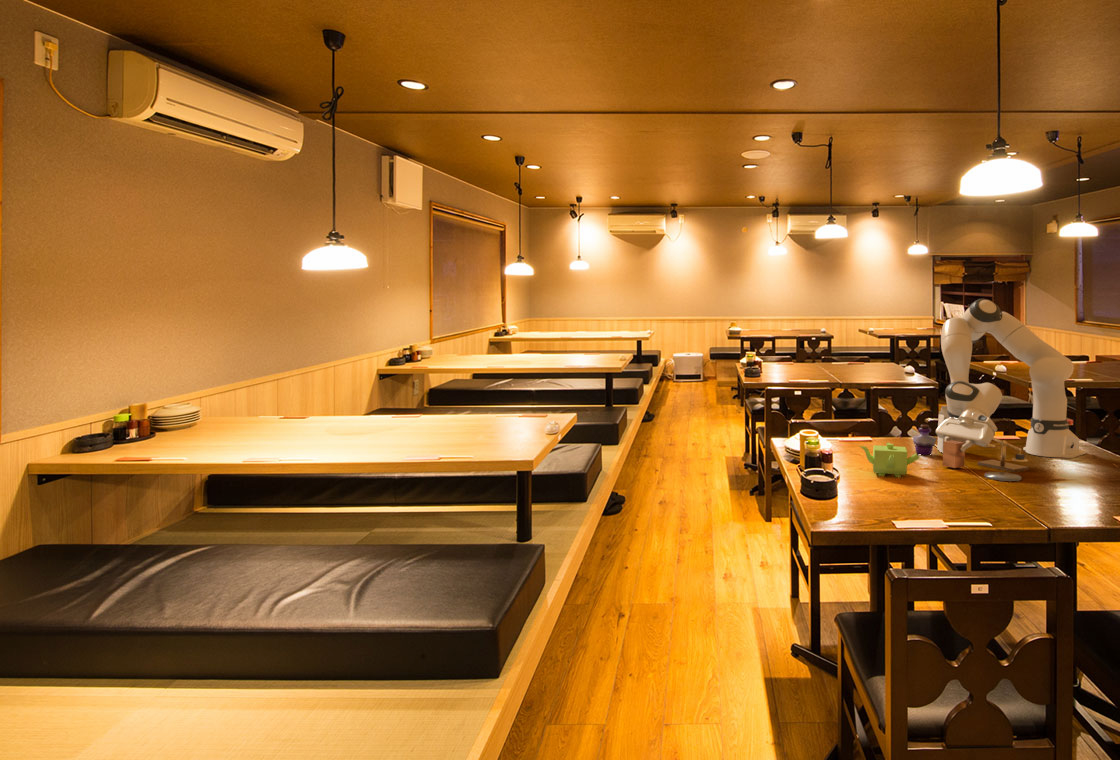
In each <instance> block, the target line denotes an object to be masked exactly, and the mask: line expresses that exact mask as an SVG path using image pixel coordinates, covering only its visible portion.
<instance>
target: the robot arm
mask: <svg viewBox="0 0 1120 760" xmlns="http://www.w3.org/2000/svg"><path fill="white" fill-rule="evenodd" d="M940 332H941V335H940V345H941V347H940V348H941V352H942V356H943V359H944V361H945V362H944V363H945V365H946V368H947V370H948V374H949V378H950V383H949V384H948V385H947V386H946V388H945V390H944V394H945V400H946V401H945V402H946V406H947V412H948V415H949V417H950V418H948V419H945V420H944V421H943V422H942V423H941V424H940V425H939V427H938V426H937V428H936V429H935V434H936V435H937V438H938V437H939V438H943V439H945V441H951V440H955V441H960V442H965V444H964V445H960V447H959V448H958V449H959V451H961V452H964V451H965V452H966V450H967V449H969V448H970V447H973V445H975V446H980V447H981V446H987V445H988V444H991V442H992V439H993V437H994V438H995V433H996V432H997V431H998V427H997V426H996V424H995V422H993V420H992V419H991V416H992V414H994V413H995V411H996V410H997V409H998V407H999V405H1000V403H1001V401H1002V399H1003V393H1002V390H1001V389H1000V388H999V387H998V386H996V385H995V384H993V383H990V382H983V383H970V382H969V374H970V366H971V362H972V361H971V360H972V353H973V344H975V343H977V342H979V340H980V339H981V338H982V337H983V336H984V335H985V334H986V333H988V334H990V335H992V336H993V338H994V339H996V341H997V342H998V343H999V344H1001V346H1002V347H1004V348H1005V349H1006V350H1007V351H1008V352H1009V353H1010V354H1012V356H1013V357H1014V358H1015V359H1017V360H1019V361H1021V362H1022V363H1024V364H1026V366H1029V367H1030V368H1029V369H1028V370H1029V371H1028V374H1029V377H1030V380H1031V381H1030V382H1031V389H1032V397H1033V400H1032V401H1033V402H1032V403H1033V404H1032V417H1031V418H1030V427H1031V428H1030V429H1028V432H1027V436H1026V444H1025V446H1024V447H1023V449H1022V450H1023V451H1025V453H1026V454H1030V455H1032V456H1033V455H1034V456H1039V457H1047V458H1066V459H1074V458H1076V457H1080V456H1083V455H1086V454H1087V450H1085V449H1082V448H1081V449H1080V439H1079V437H1078V436H1077V435H1076V434H1074V433H1073V432H1072V431H1071V430H1070V429H1069V428H1070V426H1072V425H1073V424H1074V420H1073V419H1067V409H1068V398H1067V395H1066V389H1065V381H1067V380H1068V379H1070V377H1071V376H1072V375H1073V373H1074V369H1075V366H1074V362H1072V359H1070V358H1068V357H1067V356H1065V355H1064V354H1063V353H1062V352H1060V351H1059V350H1058V349H1055V348H1054V347H1052V346H1051V345H1050V344H1048V343H1047V342H1045V341H1044V340H1042V339H1041V337H1039V336H1038V335H1036V334H1035V333H1034V331H1032V330H1031V329H1030V328H1028V327H1027V325H1025V324H1024V323H1023V322H1022V321H1020V320H1019V319H1018V318H1016V317H1015V316H1013V315H1011V314H1010V313H1008V312H1006V311H1002V310H1001V308H1000V307H999V306H998V305H997V304H996V303H995V302H994V301H992V300H990V299H988V298H978V299H977V300H975V301H974V302H972V303H971V304H970V305H969V307H968V308H967V309H966V310H965V311H964V312H963V314H962V315H961V317H957V316H955V317H954V316H953V317H950V318H948V319H947V320H945V321H944V322H943V325H942V327H941V331H940Z"/></svg>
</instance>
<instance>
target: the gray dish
mask: <svg viewBox="0 0 1120 760" xmlns="http://www.w3.org/2000/svg"><path fill="white" fill-rule="evenodd" d="M984 477H985V478H986V479H988V478H989V479H988V480H991V479H993V481H996V480H999V481H998V482H1004V481H1009V482H1008V483H1012V482H1011V481H1017V482H1021V481H1022V476H1021V475H1019V474H1015V473H1012V472H1006V471H987V472H985V473H984ZM1020 480H1021V481H1020Z"/></svg>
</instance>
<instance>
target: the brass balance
mask: <svg viewBox="0 0 1120 760" xmlns="http://www.w3.org/2000/svg"><path fill="white" fill-rule="evenodd" d="M992 440H993V441H995V442H996V443H999V444H1000V445H1001V451H1000V460H997V459H987V460H980V461H979V460H978V461H977V465H978V466H980V465H981V467H985V466H987V467H986V468H990V467H992V468H991V469H994V468H996V469H995V470H999V469H1001V470H1000V471H1003V470H1005V471H1004V472H1008V471H1010V472H1009V473H1012V472H1015V473H1021V472H1025V471H1024V470H1027V471H1029V466H1025V465H1020V464H1016V463H1017V462H1018V463H1028V462H1029V459H1028V458H1025V454H1023V453H1021V452H1022V448H1020V447H1018V446H1015V445H1013V444H1010V443H1009V442H1008V441H1007V440H1001V439H999V438H995V436H994V437H993V439H992ZM992 440H991V441H992ZM980 447H982V448H988V449H993V448H996V444H992V443H989V444H988V445H987V446H980ZM1007 447H1009V448H1011V449H1014V450H1016V451H1018V452H1019V453H1015V455H1014V456H1015V457H1012V458H1011V461H1012V462H1015V463H1011V462H1006V449H1007ZM1020 471H1021V472H1020Z"/></svg>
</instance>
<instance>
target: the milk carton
mask: <svg viewBox="0 0 1120 760" xmlns="http://www.w3.org/2000/svg"><path fill="white" fill-rule="evenodd" d="M948 418H950V417H949V415H948V412H947V405H941V408H940V410H939V413H938V420H937V421H938V423H937V428H938V427H939V425H940V424H941V423H942V422H943V421H944V420H945V419H948ZM944 441H945V439H943V438H939V437H938V436H937V445H936V446H937V447H936V448H937V449H938V450H939V451H938V450H937V449H936V450H937V451H938V452H940V453H941V452H942V453H941V454H943V444H944Z"/></svg>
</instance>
